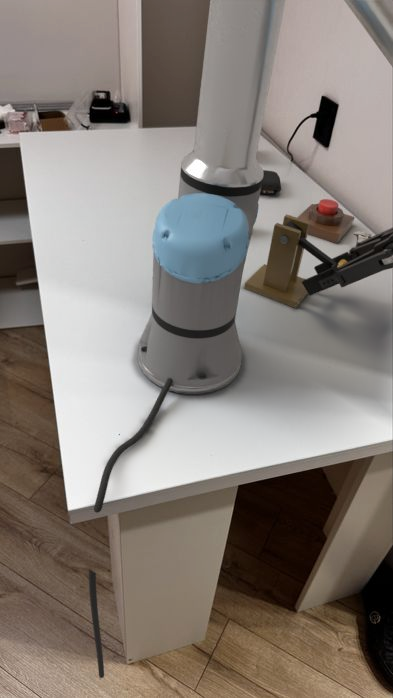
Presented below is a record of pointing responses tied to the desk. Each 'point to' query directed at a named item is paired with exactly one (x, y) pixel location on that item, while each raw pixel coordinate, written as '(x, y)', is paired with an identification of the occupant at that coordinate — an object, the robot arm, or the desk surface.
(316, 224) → the switch block
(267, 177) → the carrying case
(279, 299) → the bracket
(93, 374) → the desk surface
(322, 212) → the button
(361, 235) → the wristwatch
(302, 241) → the pivoting switch lever
